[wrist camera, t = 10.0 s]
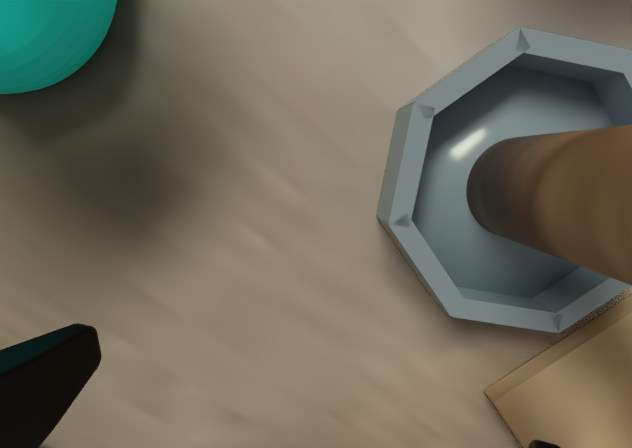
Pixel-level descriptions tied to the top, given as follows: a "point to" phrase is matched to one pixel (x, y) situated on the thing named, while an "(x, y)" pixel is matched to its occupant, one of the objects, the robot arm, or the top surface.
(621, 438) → the trivet
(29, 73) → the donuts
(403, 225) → the dish
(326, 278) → the top surface
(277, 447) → the top surface
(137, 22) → the top surface
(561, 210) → the pepper mill
